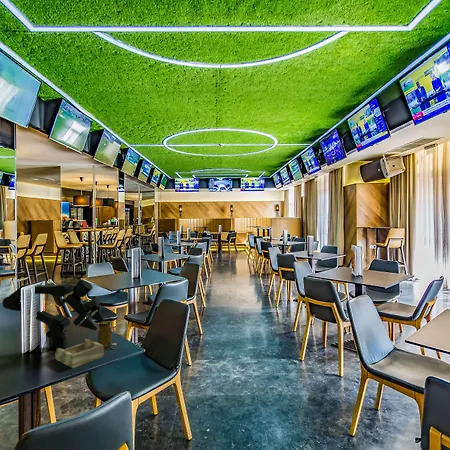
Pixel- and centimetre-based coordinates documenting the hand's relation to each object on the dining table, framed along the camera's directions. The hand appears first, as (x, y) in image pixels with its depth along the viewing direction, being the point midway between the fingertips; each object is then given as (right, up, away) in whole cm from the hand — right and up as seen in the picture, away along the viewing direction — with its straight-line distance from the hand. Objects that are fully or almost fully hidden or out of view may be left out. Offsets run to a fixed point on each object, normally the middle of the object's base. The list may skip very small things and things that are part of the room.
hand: (100, 326), depth 148 cm
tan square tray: (-5, -10, -12) cm, 16 cm away
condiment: (+3, -10, 0) cm, 11 cm away
